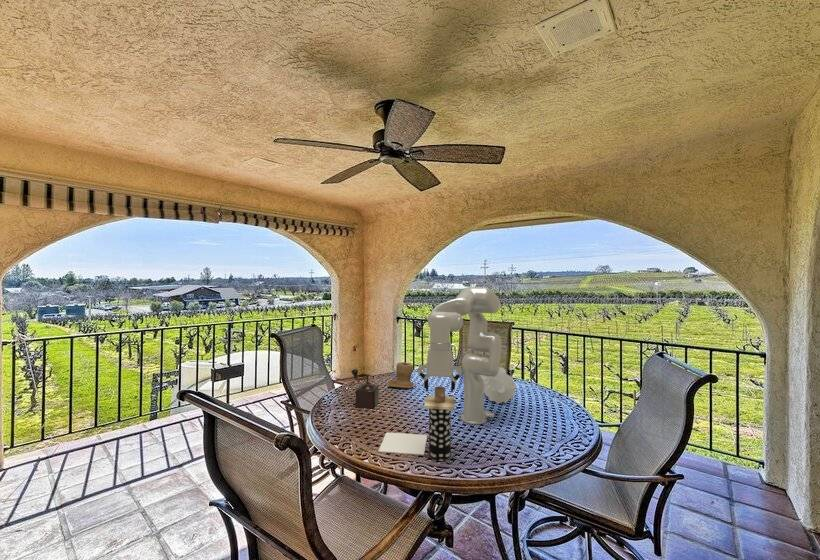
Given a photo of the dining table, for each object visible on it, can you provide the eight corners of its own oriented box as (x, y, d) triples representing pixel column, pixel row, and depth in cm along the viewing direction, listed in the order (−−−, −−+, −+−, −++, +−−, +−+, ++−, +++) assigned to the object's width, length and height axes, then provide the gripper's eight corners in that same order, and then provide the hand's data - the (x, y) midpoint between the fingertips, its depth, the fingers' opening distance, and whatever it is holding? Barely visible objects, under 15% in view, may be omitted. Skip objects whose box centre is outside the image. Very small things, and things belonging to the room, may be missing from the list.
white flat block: (427, 435, 146) (427, 434, 146) (423, 455, 130) (423, 454, 130) (386, 433, 149) (386, 432, 149) (378, 452, 133) (378, 451, 133)
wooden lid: (454, 399, 135) (454, 384, 135) (454, 410, 124) (454, 393, 124) (426, 397, 137) (426, 383, 136) (424, 408, 126) (424, 392, 126)
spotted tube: (448, 449, 135) (448, 399, 135) (452, 460, 127) (452, 407, 126) (428, 449, 135) (428, 399, 134) (429, 461, 126) (430, 407, 126)
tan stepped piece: (415, 384, 215) (415, 361, 215) (411, 390, 204) (411, 365, 204) (392, 382, 219) (393, 359, 219) (387, 388, 208) (387, 364, 207)
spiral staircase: (497, 397, 204) (509, 411, 179) (471, 384, 205) (479, 397, 180) (510, 369, 205) (524, 380, 180) (484, 357, 205) (494, 366, 180)
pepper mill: (379, 401, 186) (379, 369, 186) (374, 409, 175) (374, 374, 175) (352, 399, 188) (352, 367, 188) (345, 407, 178) (345, 373, 177)
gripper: (462, 345, 133) (462, 388, 133) (418, 343, 135) (418, 386, 135) (462, 349, 125) (462, 395, 125) (416, 347, 127) (416, 392, 127)
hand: (439, 390), depth 130 cm, fingers open, 9 cm apart
